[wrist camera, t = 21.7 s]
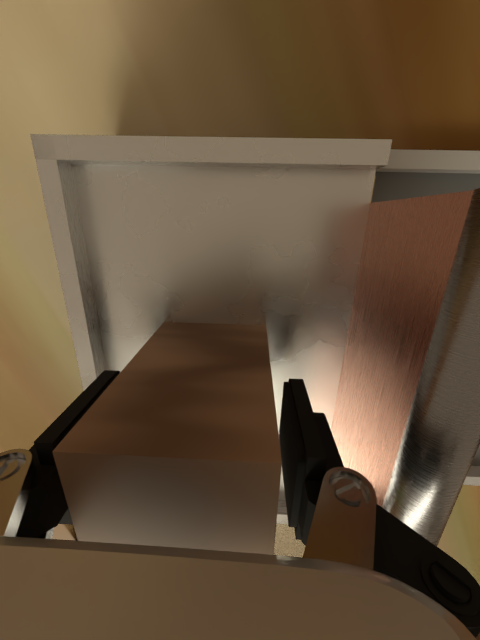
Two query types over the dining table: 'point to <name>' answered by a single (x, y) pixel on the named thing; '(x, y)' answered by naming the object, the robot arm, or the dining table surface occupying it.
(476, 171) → the grey flat rectangular piece
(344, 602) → the robot arm
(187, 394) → the walnut block
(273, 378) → the grey l-shaped piece
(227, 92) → the dining table surface
